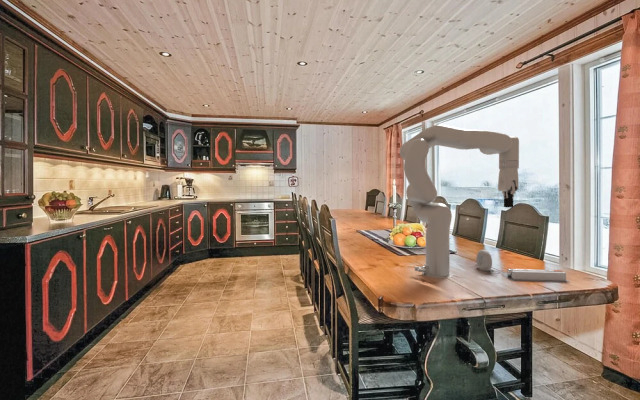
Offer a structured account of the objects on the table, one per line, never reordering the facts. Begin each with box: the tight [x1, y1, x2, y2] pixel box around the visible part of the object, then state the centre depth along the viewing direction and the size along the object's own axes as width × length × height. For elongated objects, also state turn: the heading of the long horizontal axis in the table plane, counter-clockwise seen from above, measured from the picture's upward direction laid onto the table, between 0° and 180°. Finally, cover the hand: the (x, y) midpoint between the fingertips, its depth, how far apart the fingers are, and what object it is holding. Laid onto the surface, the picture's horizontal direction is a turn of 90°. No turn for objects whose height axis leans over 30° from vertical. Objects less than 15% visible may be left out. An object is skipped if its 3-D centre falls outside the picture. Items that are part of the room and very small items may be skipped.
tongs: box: [499, 271, 570, 283], centre depth 129 cm, size 21×12×4 cm, turn 81°
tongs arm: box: [506, 268, 564, 278], centre depth 127 cm, size 20×2×3 cm, turn 80°
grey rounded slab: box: [475, 249, 493, 272], centre depth 142 cm, size 10×4×10 cm, turn 179°
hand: (508, 207), depth 139 cm, fingers closed
